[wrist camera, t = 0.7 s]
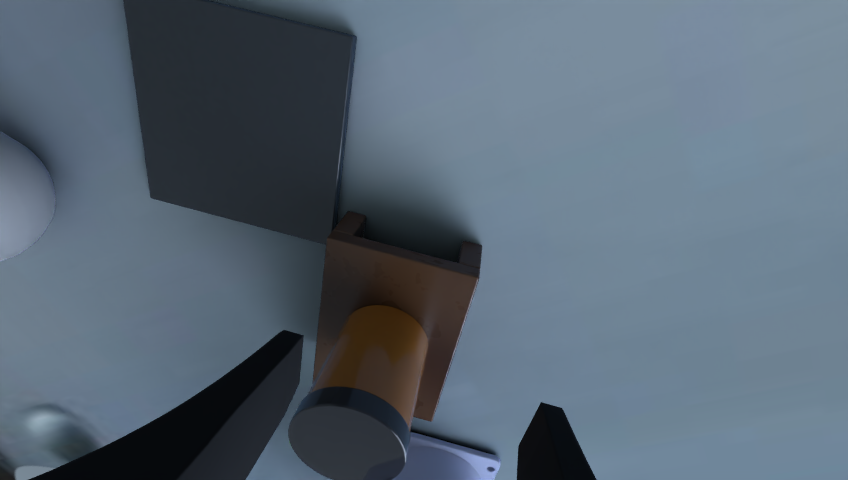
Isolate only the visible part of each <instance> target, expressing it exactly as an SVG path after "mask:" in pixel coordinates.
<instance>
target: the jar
mask: <svg viewBox="0 0 848 480" xmlns="http://www.w3.org/2000/svg"><path fill="white" fill-rule="evenodd" d="M427 352H428V339H427V336H426V333H425V331H424V329H423V328H422V326H421V325H420V324H419V323H418V322H417V321H416V320H415V319H414V318H413V317H412V316H410V315H409V314H407V313H405V312H404V311H402V310H399V309H397V308H394V307H390V306H385V305H370V306H365V307H362V308H360V309H358V310H356V311H354V312H353V313H352V314H350V315H349V317H348V318H347V319H346V321H345V322H344V324H343V326H342V328H341V330H340V332H339V334H338V336H337V338H336V340H335V342H334V344H333V346H332V348H331V350H330V352H329V354H328V355H327V357H326V359H325V361H324V363H323V365H322V367H321V369H320V371H319V373H318V375H317V377H316V379H315V381H314V383H313V385H312V387H311V389H310V391H309V392H308V394H307V396H306V397H305V398H304V399H303V400H302V401H301V403H300V404H299V406H298V408H297V410H296V412H295V414H294V416H293V418H292V420H291V422H290V424H289V429H288V437H289V441H290V444H291V446H292V448H293V450H294V452H295V453H296V454H297V456H298V457H299V458H300V459H301V460H302V461H303V462H304V463H305V464H306V465H307V466H309V467H310V468H312V469H313V470H314V471H316V472H318V473H319V474H321V475H323V476H325V477H327V478H330V479H332V480H393V479H394V478H396V477H397V476H398V475H399V474H400V473H401V471H402V470H403V469H404V466H405V464H406V460H407V455H408V450H409V446H410V429H411V425H412V420H413V416H414V411H415V407H416V402H417V398H418V393H419V389H420V384H421V380H422V375H423V371H424V366H425V362H426V357H427Z"/></svg>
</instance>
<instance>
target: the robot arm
mask: <svg viewBox="0 0 848 480" xmlns="http://www.w3.org/2000/svg"><path fill="white" fill-rule="evenodd" d="M303 337H304V335H300V334H297V333H293V332H290V331H286V330H283V331H281V332H280V333H278V334H277V335H276V336H275V337H274V338H272V339H271V340H270V341H269V342H267V343H266V344H265V345H264V346H262V347H261V348H260V349H259V350H257V351H256V352H255V353H254V354H252V355H251V356H250V357H248V358H247V359H246V360H245V361H243V362H242V363H241V364H239V365H238V366H236V367H235V368H234V369H232V370H231V371H230V372H228V373H227V374H226V375H224V376H223V377H221V378H220V379H219V380H217V381H216V382H214V383H213V384H211V385H210V386H208V387H207V388H205V389H204V390H202V391H201V392H199V393H198V394H196V395H195V396H193V397H192V398H190V399H189V400H187V401H185V402H184V403H182V404H181V405H179V406H177V407H176V408H174V409H172V410H171V411H169V412H167V413H166V414H164V415H162V416H160V417H159V418H157V419H155V420H154V421H152V422H150V423H148V424H146V425H144V426H143V427H141V428H139V429H137V430H135V431H133V432H131V433H129V434H127V435H126V436H124V437H122V438H120V439H118V440H116V441H114V442H112V443H110V444H108V445H106V446H104V447H102V448H100V449H97V450H95V451H93V452H91V453H89V454H86V455H84V456H82V457H80V458H78V459H75V460H73V461H71V462H69V463H67V464H64V465H62V466H60V467H58V468H56V469H53V470H51V471H49V472H46V473H44V474H42V475H39V476H36V477H34V478H31V479H29V480H245V479H246V478H247V476H248V475H249V473H250V471H251V470H252V468H253V466H254V465H255V463H256V461H257V460H258V458H259V456H260V455H261V453H262V452H263V450H264V448H265V447H266V445H267V443H268V442H269V440H270V438H271V437H272V435H273V433H274V432H275V430H276V428H277V427H278V425H279V423H280V422H281V420H282V418H283V417H284V415H285V413H286V411H287V409H288V407H289V404H290V402H291V400H292V398H293V396H294V394H295V391H296V389H297V387H298V385H299V382H300V370H301V359H302V348H303ZM500 463H501V460H500V458H499V457H497V456H495V455H492V454H488V453H485V452H481V451H478V450H474V449H471V448H467V447H464V446H460V445H457V444H453V443H449V442H446V441H442V440H439V439H435V438H432V437H428V436H425V435H421V434H418V433H414V432H411V431H410V446H409V450H408V455H407V460H406V464H405V466H404V469H403V470H402V471H401V473H400V474H399V475H398V476H397V477H396V478H394V479H393V480H494V478H495V476H496V474H497V472H498V470H499V468H500ZM517 480H596V478H595V476H594V474H593V472H592V470H591V468H590V466H589V464H588V462H587V460H586V458H585V456H584V454H583V452H582V449H581V447H580V445H579V443H578V441H577V439H576V437H575V435H574V433H573V430H572V428H571V426H570V424H569V422H568V419H567V417H566V415H565V413H564V411H563V409H562V408H560V407H556V406H552V405H549V404H545V403H542V402H541V404H540V405H539V407H538V409H537V411H536V413H535V415H534V417H533V419H532V421H531V423H530V425H529V427H528V429H527V431H526V432H525V434H524V436H523V438H522V440H521V442H520V444H519V448H518V465H517Z"/></svg>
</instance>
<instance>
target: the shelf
mask: <svg viewBox="0 0 848 480" xmlns="http://www.w3.org/2000/svg"><path fill="white" fill-rule="evenodd" d="M365 222H366V216H365V215H362V214H358V213H354V212H350V211H348V212H347V213H346V215H345V216H344V217H343V218H342V220H341V221H340V222H339V223H338V225H337V226H336V227H335V228H334V230H333V231H332V232H331V233H330V235H329V236H328V237H327V242H326V252H325V262H324V272H323V283H322V293H321V303H320V313H319V323H318V333H317V343H316V353H315V363H314V373H313V383H314V381H315V379H316V377H317V375H318V373H319V371H320V369H321V367H322V365H323V363H324V361H325V359H326V357H327V355H328V354H329V352H330V350H331V348H332V346H333V344H334V342H335V340H336V338H337V336H338V334H339V332H340V330H341V328H342V326H343V324H344V322H345V321H346V319H347V318H348V317H349V315H350V314H352V313H353V312H354V311H356V310H358V309H360V308H362V307H365V306H370V305H385V306H390V307H394V308H397V309H399V310H402V311H404V312H405V313H407V314H409V315H410V316H412V317H413V318H414V319H415V320H416V321H417V322H418V323H419V324H420V325H421V326H422V328H423V329H424V331H425V333H426V336H427V339H428V352H427V357H426V362H425V366H424V371H423V375H422V380H421V384H420V389H419V393H418V398H417V402H416V407H415V411H414V416H413V417H416V418H420V419H423V420H427V421H430V422H432V420H433V417H434V414H435V411H436V408H437V405H438V402H439V399H440V396H441V393H442V390H443V387H444V384H445V381H446V378H447V375H448V372H449V369H450V366H451V363H452V360H453V357H454V354H455V351H456V348H457V344H458V341H459V338H460V335H461V332H462V329H463V326H464V323H465V320H466V317H467V314H468V311H469V308H470V305H471V302H472V299H473V296H474V293H475V290H476V287H477V284H478V281H479V275H480V265H481V254H482V245H479V244H475V243H471V242H467V241H463V242H462V245H461V249H460V252H459V256H458V259H457V263H456V262H452V261H448V260H444V259H440V258H437V257H433V256H429V255H425V254H421V253H418V252H414V251H410V250H406V249H402V248H399V247H395V246H391V245H387V244H383V243H380V242H376V241H372V240H368V239H364V238H363V235H364V229H365ZM313 383H312V385H313Z"/></svg>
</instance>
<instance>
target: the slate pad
mask: <svg viewBox="0 0 848 480" xmlns="http://www.w3.org/2000/svg"><path fill="white" fill-rule="evenodd" d="M123 2H124V9H125V16H126V23H127V31H128V38H129V45H130V52H131V60H132V67H133V74H134V81H135V89H136V96H137V103H138V110H139V118H140V125H141V132H142V139H143V147H144V154H145V161H146V168H147V176H148V183H149V190H150V197H151V198H152V199H156V200H160V201H163V202H167V203H171V204H175V205H178V206H182V207H186V208H190V209H194V210H197V211H201V212H205V213H209V214H212V215H216V216H220V217H224V218H228V219H231V220H235V221H239V222H243V223H246V224H250V225H254V226H258V227H262V228H265V229H269V230H273V231H277V232H280V233H284V234H288V235H292V236H296V237H299V238H303V239H307V240H311V241H314V242H318V243H322V244H326V242H327V237H328V236H329V235H330V233H331V232H332V231H333V230H334V228H335V227H336V223H337V213H338V204H339V195H340V186H341V177H342V168H343V159H344V150H345V141H346V132H347V123H348V113H349V104H350V95H351V86H352V77H353V68H354V59H355V50H356V41H357V37H356V36H355V35H351V34H347V33H342V32H338V31H334V30H330V29H326V28H322V27H317V26H313V25H309V24H305V23H301V22H297V21H293V20H288V19H284V18H280V17H276V16H272V15H268V14H263V13H259V12H255V11H251V10H247V9H243V8H238V7H234V6H230V5H226V4H222V3H218V2H214V1H209V0H123Z"/></svg>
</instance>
